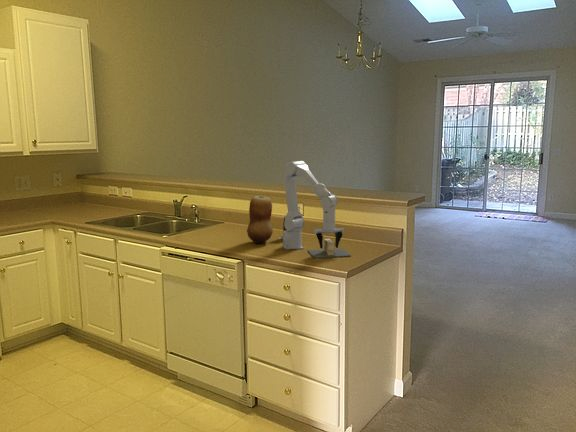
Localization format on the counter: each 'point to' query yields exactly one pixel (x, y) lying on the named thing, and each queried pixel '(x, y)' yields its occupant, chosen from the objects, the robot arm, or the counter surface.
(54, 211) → the counter surface
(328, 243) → the tile
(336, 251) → the mat
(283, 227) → the condiment
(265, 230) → the butternut squash
